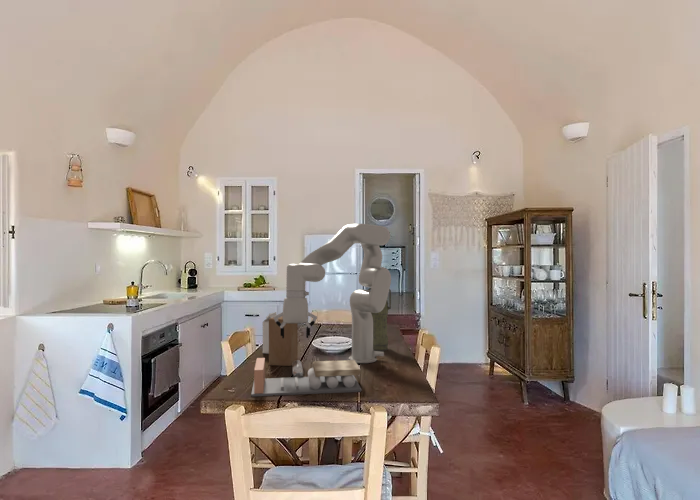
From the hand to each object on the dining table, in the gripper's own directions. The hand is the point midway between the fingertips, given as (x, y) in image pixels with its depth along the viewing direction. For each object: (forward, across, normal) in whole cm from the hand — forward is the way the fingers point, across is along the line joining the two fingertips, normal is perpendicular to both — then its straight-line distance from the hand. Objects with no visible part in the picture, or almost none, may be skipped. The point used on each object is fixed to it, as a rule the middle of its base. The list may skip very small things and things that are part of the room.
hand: (295, 337), depth 192 cm
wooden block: (+15, +4, -18) cm, 24 cm away
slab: (+9, -15, +18) cm, 25 cm away
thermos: (+14, -43, -40) cm, 60 cm away
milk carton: (+14, +9, -40) cm, 44 cm away
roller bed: (+15, -4, +18) cm, 23 cm away
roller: (+15, 0, 0) cm, 15 cm away
